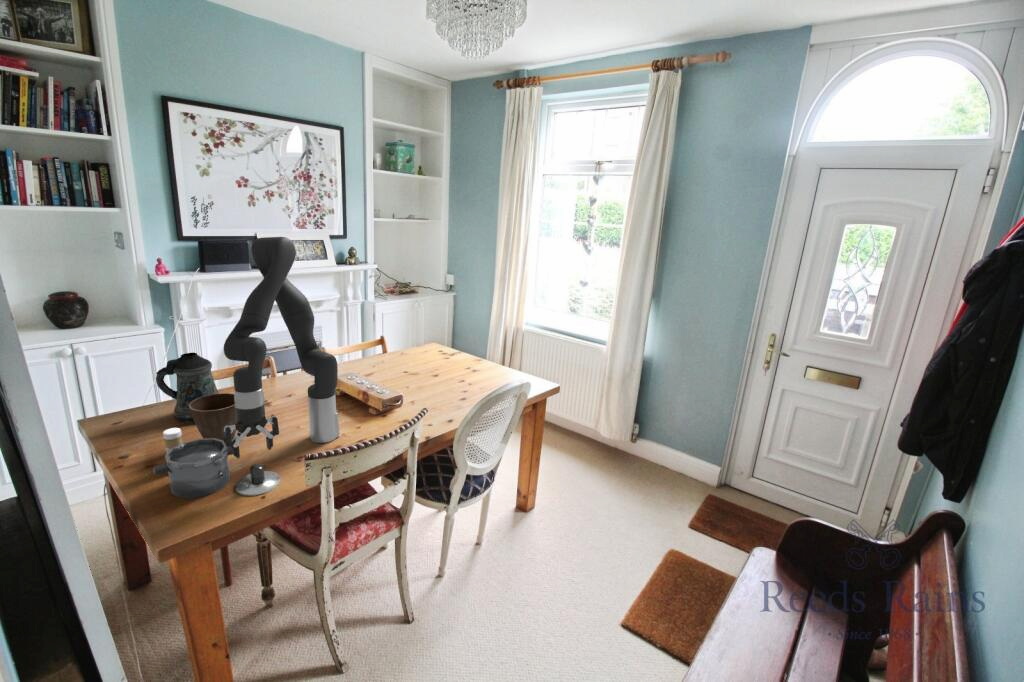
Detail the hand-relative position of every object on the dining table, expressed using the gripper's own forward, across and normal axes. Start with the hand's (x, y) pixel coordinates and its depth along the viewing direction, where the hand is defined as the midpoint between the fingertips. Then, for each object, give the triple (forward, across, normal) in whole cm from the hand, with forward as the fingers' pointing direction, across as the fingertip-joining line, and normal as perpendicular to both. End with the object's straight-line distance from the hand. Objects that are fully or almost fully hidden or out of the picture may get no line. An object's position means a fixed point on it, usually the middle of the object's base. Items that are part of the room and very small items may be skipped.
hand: (253, 452), depth 141 cm
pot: (+11, +12, -10) cm, 19 cm away
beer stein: (+11, +5, -61) cm, 62 cm away
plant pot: (+11, +3, -33) cm, 35 cm away
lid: (+11, -1, 0) cm, 11 cm away
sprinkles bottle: (+11, +17, -23) cm, 30 cm away
